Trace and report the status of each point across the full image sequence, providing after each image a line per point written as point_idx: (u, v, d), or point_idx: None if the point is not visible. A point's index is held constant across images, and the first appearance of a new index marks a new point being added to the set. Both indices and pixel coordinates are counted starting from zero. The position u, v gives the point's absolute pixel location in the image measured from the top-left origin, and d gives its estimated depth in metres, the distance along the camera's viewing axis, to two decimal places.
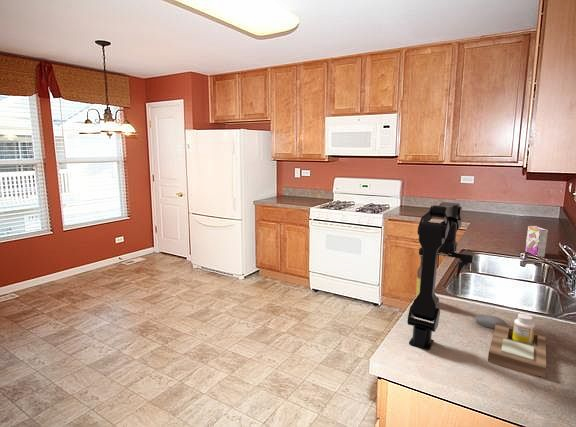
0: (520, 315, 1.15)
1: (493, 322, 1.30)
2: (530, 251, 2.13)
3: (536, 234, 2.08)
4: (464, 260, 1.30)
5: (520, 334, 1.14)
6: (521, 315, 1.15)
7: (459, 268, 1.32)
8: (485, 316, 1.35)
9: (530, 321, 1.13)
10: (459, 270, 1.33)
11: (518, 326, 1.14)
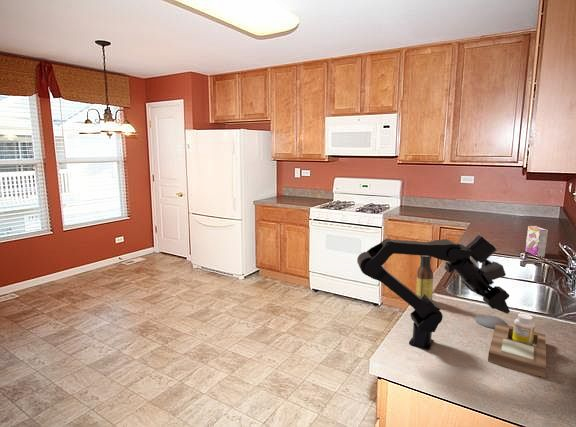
0: (520, 315, 1.15)
1: (493, 322, 1.30)
2: (530, 251, 2.13)
3: (536, 234, 2.08)
4: (487, 304, 1.07)
5: (520, 334, 1.14)
6: (521, 315, 1.15)
7: None
8: (485, 316, 1.35)
9: (530, 321, 1.13)
10: (497, 309, 1.09)
11: (518, 326, 1.14)
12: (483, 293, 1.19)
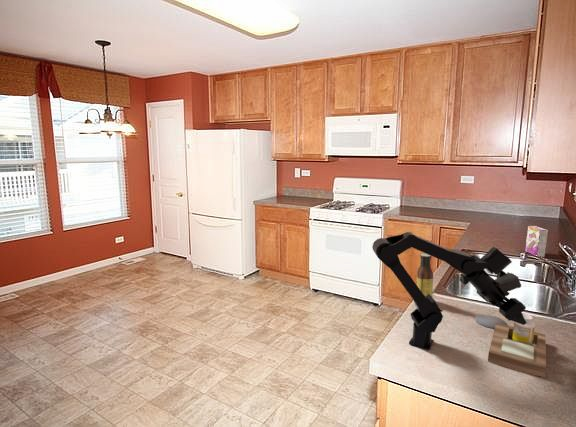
0: None
1: (493, 322, 1.30)
2: (530, 251, 2.13)
3: (536, 234, 2.08)
4: None
5: (520, 334, 1.14)
6: None
7: None
8: (485, 316, 1.35)
9: (530, 321, 1.13)
10: None
11: (518, 326, 1.14)
12: (498, 304, 1.19)
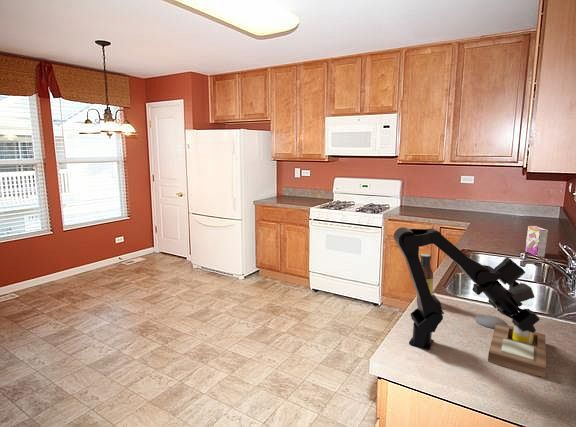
0: None
1: (493, 322, 1.30)
2: (530, 251, 2.13)
3: (536, 234, 2.08)
4: (517, 326, 1.08)
5: (520, 334, 1.14)
6: None
7: None
8: (485, 316, 1.35)
9: None
10: None
11: None
12: (513, 316, 1.18)
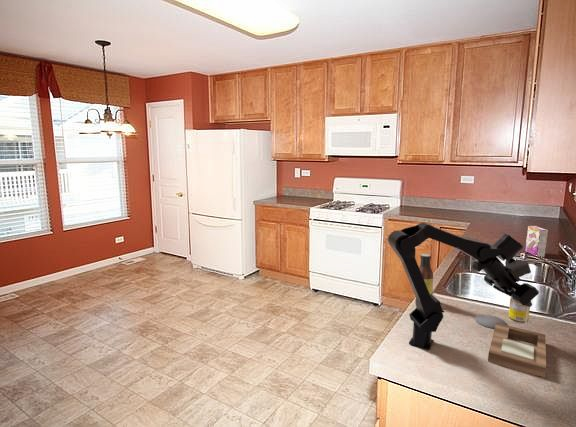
0: None
1: (493, 322, 1.30)
2: (530, 251, 2.13)
3: (536, 234, 2.08)
4: (517, 301, 1.10)
5: (518, 309, 1.16)
6: None
7: None
8: (485, 316, 1.35)
9: None
10: None
11: (515, 302, 1.16)
12: (509, 292, 1.20)
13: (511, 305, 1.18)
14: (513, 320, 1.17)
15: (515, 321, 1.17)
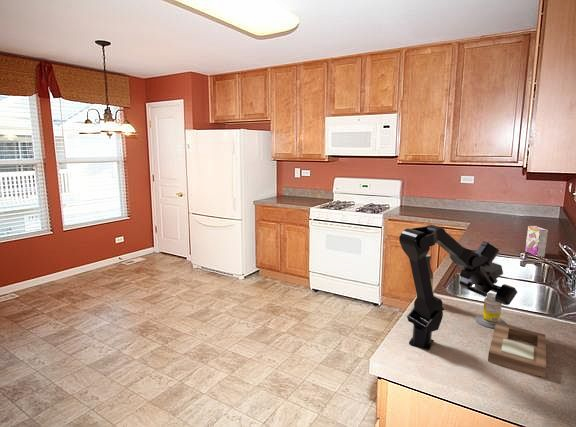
0: (490, 295, 1.29)
1: None
2: (530, 251, 2.13)
3: (536, 234, 2.08)
4: (500, 301, 1.20)
5: (493, 311, 1.28)
6: (490, 294, 1.29)
7: None
8: None
9: None
10: None
11: (491, 305, 1.28)
12: (480, 291, 1.32)
13: (486, 308, 1.29)
14: (489, 321, 1.29)
15: (491, 322, 1.29)
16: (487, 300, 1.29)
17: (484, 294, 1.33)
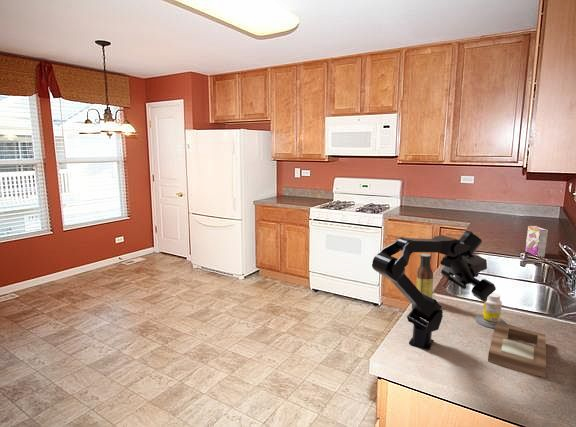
0: (490, 295, 1.29)
1: None
2: (530, 251, 2.13)
3: (536, 234, 2.08)
4: (476, 295, 1.16)
5: (493, 311, 1.28)
6: (490, 294, 1.29)
7: None
8: None
9: (499, 298, 1.28)
10: None
11: (491, 305, 1.28)
12: (459, 282, 1.29)
13: (486, 308, 1.29)
14: (489, 321, 1.29)
15: (491, 322, 1.29)
16: (487, 300, 1.29)
17: (463, 286, 1.29)
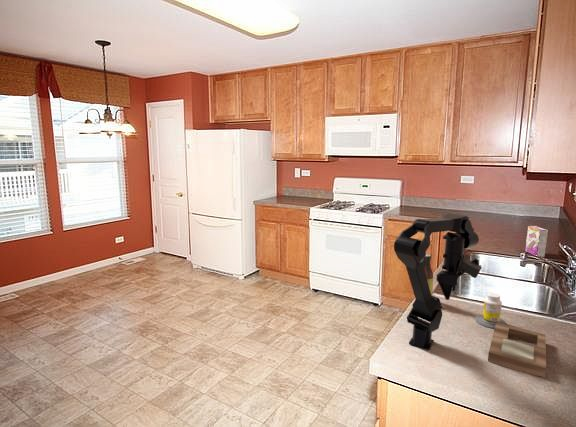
0: (490, 295, 1.29)
1: None
2: (530, 251, 2.13)
3: (536, 234, 2.08)
4: None
5: (493, 311, 1.28)
6: (490, 294, 1.29)
7: None
8: None
9: (499, 298, 1.28)
10: None
11: (491, 305, 1.28)
12: None
13: (486, 308, 1.29)
14: (489, 321, 1.29)
15: (491, 322, 1.29)
16: (487, 300, 1.29)
17: None
